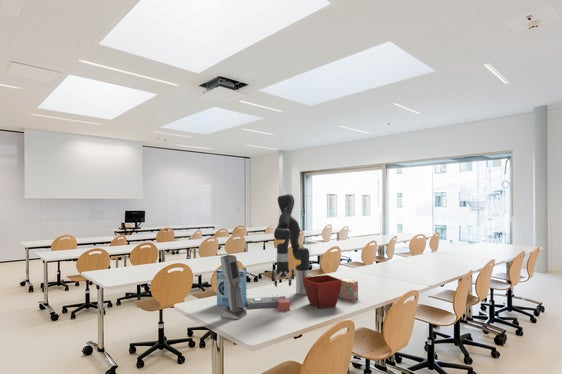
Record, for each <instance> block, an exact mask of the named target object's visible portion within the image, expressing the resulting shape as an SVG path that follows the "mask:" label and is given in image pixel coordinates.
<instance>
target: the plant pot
mask: <svg viewBox="0 0 562 374" xmlns="http://www.w3.org/2000/svg"><path fill="white" fill-rule="evenodd" d="M303 282H304V287H305V291H306V297H307V299H308V302H309V305H312V306H313V307H315V308H317V309H324V308H330V307H336V306H337V303H338V301H339V298H338V297H339V294H340V289H341V282H342V280H340V278H337V277H334V276H332V275H329V274H324V275H313V276H308V277H304V278H303Z"/></svg>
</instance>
